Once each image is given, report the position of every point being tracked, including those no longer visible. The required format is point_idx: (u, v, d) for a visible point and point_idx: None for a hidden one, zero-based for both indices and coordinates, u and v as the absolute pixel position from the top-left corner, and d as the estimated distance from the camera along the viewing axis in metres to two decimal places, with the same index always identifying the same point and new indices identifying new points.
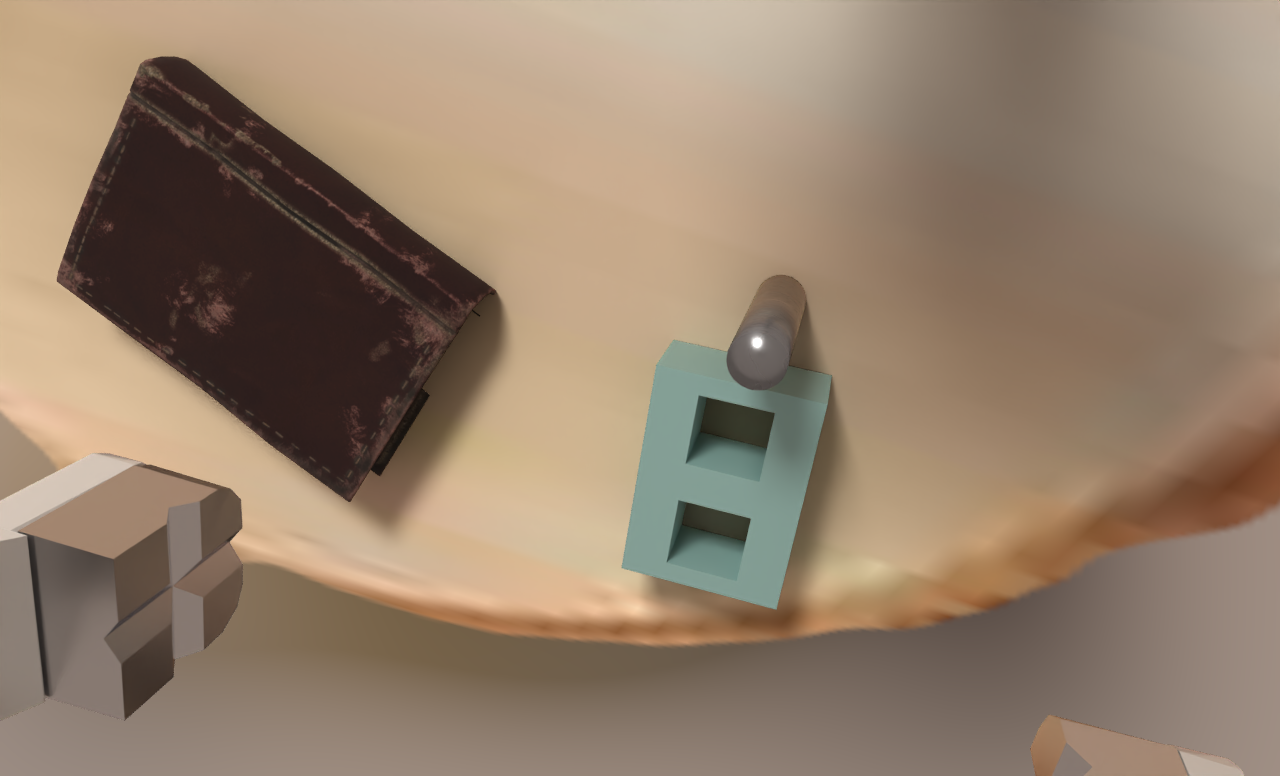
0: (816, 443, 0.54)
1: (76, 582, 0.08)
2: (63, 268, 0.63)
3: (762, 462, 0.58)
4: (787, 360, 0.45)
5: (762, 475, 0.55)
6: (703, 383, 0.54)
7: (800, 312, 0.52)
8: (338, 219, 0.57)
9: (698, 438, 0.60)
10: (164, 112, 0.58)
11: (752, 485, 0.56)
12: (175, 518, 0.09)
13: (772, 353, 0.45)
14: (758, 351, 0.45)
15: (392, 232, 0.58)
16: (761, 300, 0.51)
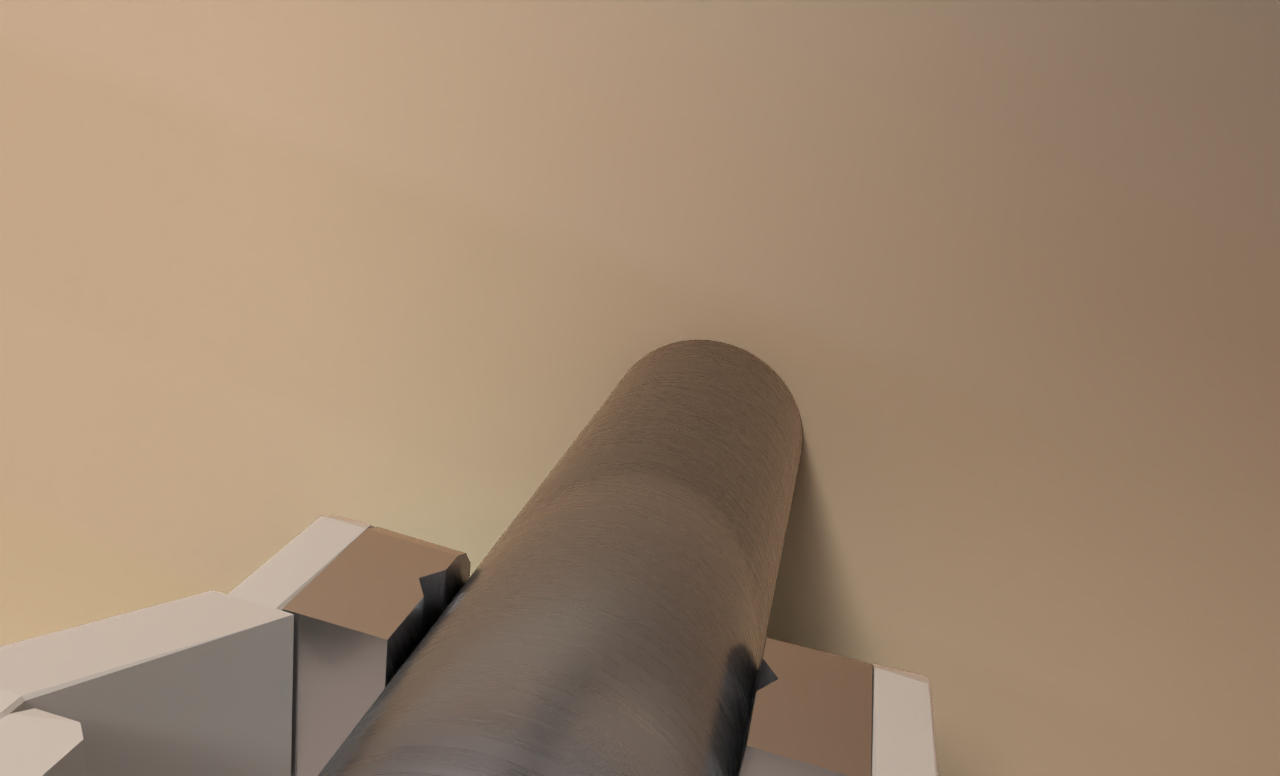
0: None
1: (342, 662, 0.08)
2: None
3: None
4: None
5: None
6: None
7: (772, 554, 0.10)
8: None
9: None
10: None
11: None
12: (422, 588, 0.08)
13: None
14: None
15: None
16: (542, 522, 0.09)
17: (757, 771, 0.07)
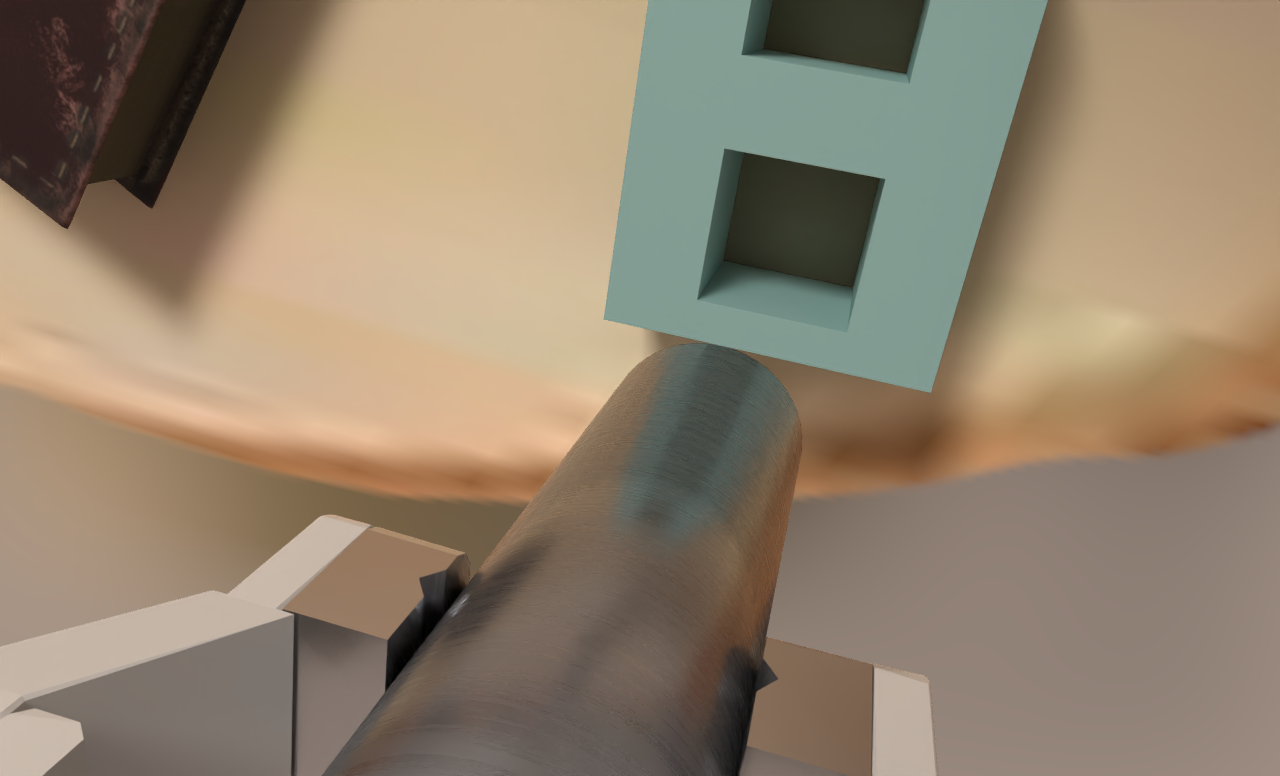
0: None
1: (342, 662, 0.08)
2: None
3: (903, 76, 0.27)
4: None
5: (918, 65, 0.24)
6: None
7: (771, 559, 0.10)
8: None
9: (761, 50, 0.29)
10: None
11: (893, 95, 0.25)
12: (422, 587, 0.08)
13: None
14: None
15: None
16: (541, 528, 0.09)
17: (757, 771, 0.07)
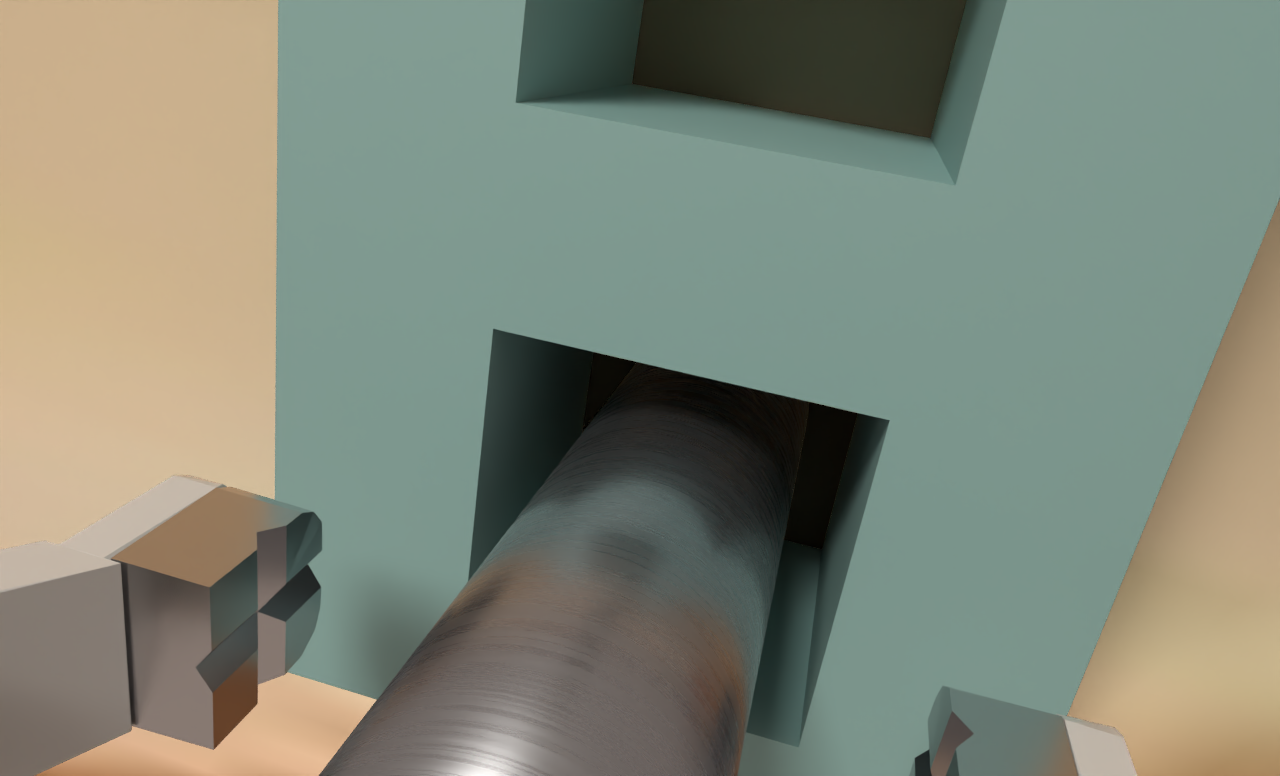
0: None
1: (169, 610, 0.08)
2: None
3: (928, 152, 0.12)
4: None
5: (979, 137, 0.09)
6: None
7: (783, 497, 0.12)
8: None
9: (619, 87, 0.13)
10: None
11: (910, 213, 0.09)
12: (262, 542, 0.09)
13: None
14: None
15: None
16: (586, 461, 0.10)
17: None
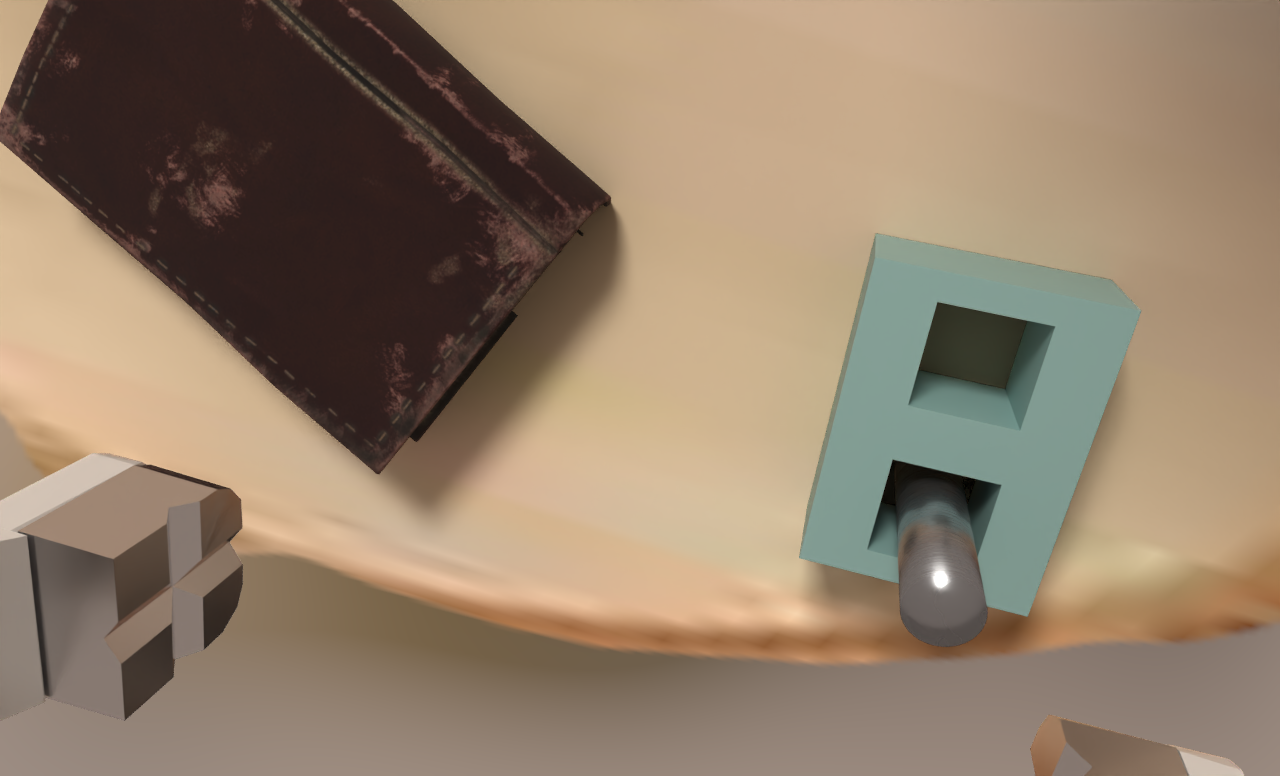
0: (1116, 371, 0.36)
1: (76, 582, 0.08)
2: (4, 117, 0.45)
3: (1008, 406, 0.40)
4: (986, 612, 0.33)
5: (1026, 421, 0.38)
6: (946, 283, 0.37)
7: None
8: (405, 73, 0.40)
9: None
10: None
11: (1009, 436, 0.38)
12: (175, 518, 0.09)
13: (966, 602, 0.33)
14: (946, 599, 0.34)
15: (479, 101, 0.41)
16: (922, 496, 0.39)
17: None
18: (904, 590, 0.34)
